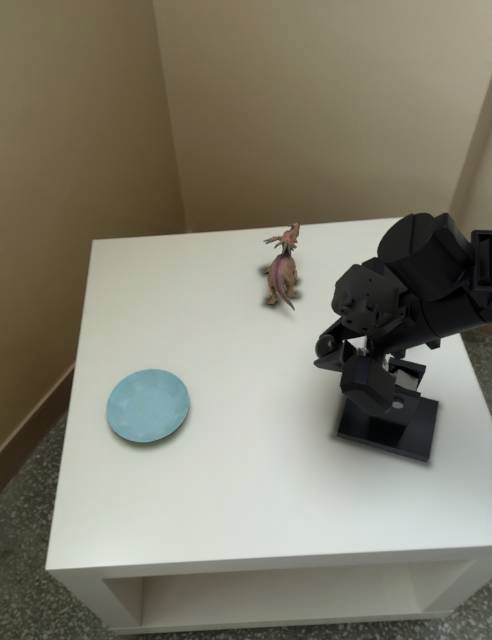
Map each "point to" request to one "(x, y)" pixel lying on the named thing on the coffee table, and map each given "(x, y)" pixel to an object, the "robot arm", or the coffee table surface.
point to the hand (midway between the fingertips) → (318, 351)
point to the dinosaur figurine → (283, 266)
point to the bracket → (395, 419)
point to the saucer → (147, 405)
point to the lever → (335, 343)
